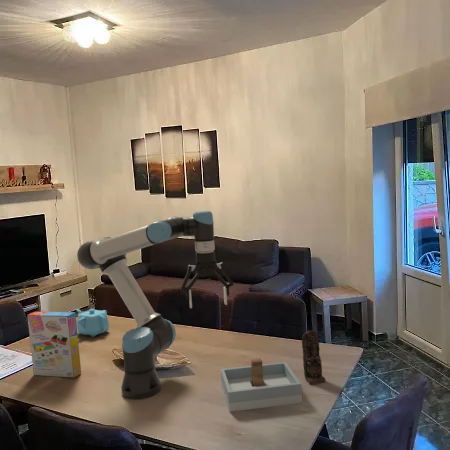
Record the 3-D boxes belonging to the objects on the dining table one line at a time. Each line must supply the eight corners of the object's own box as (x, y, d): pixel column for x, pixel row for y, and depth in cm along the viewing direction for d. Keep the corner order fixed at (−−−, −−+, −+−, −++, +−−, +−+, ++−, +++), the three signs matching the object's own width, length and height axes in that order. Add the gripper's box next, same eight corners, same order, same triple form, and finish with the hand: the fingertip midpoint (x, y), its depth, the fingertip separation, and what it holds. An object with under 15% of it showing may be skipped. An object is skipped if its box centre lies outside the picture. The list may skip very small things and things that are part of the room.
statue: (310, 385, 174) (308, 334, 172) (302, 378, 181) (300, 329, 179) (326, 382, 176) (324, 332, 174) (317, 375, 183) (315, 326, 181)
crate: (229, 411, 158) (228, 392, 157) (221, 386, 178) (220, 369, 177) (301, 402, 162) (301, 383, 161) (286, 378, 181) (285, 361, 181)
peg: (252, 389, 174) (250, 358, 173) (261, 388, 175) (260, 357, 173) (254, 393, 171) (252, 362, 169) (263, 392, 171) (262, 361, 170)
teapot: (111, 327, 260) (109, 304, 258) (107, 336, 243) (105, 312, 242) (78, 330, 257) (76, 307, 256) (72, 340, 241) (69, 315, 240)
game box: (81, 373, 198) (76, 312, 195) (74, 378, 193) (68, 315, 190) (41, 370, 204) (35, 310, 201) (32, 375, 198) (26, 314, 196)
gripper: (172, 255, 170) (176, 311, 172) (238, 250, 173) (241, 305, 175) (172, 252, 177) (175, 305, 179) (235, 247, 180) (238, 300, 183)
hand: (208, 305), depth 177 cm, fingers open, 13 cm apart
